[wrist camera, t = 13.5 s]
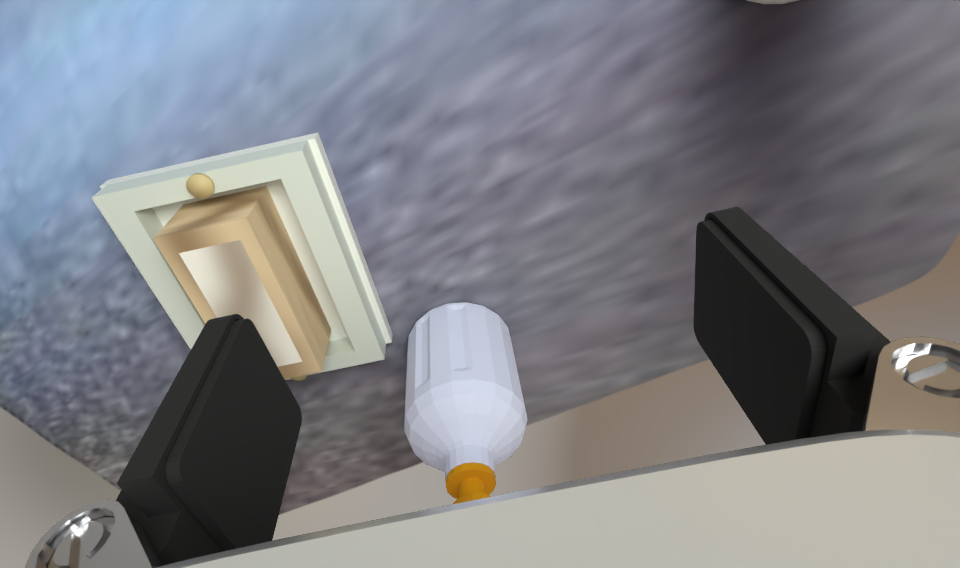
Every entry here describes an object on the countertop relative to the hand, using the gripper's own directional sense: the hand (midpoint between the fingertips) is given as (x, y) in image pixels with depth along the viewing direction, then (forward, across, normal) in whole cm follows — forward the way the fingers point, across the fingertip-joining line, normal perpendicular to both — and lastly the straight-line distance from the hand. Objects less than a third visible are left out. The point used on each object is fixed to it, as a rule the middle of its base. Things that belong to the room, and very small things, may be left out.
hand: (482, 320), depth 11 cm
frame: (+27, +17, +12) cm, 34 cm away
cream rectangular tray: (+28, +17, +12) cm, 35 cm away
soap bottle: (+28, +4, +23) cm, 37 cm away
